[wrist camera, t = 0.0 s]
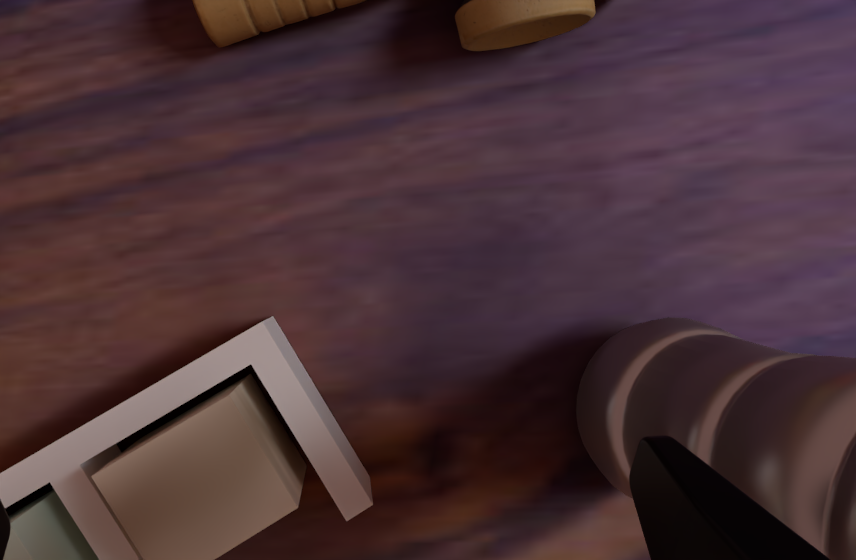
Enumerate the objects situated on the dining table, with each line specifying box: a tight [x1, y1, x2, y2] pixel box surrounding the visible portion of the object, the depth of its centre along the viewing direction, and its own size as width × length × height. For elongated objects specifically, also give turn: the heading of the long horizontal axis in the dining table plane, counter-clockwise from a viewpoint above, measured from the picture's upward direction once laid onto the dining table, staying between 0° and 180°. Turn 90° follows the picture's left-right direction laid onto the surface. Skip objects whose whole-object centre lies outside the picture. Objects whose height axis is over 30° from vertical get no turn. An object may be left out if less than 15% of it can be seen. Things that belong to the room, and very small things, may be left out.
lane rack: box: [0, 316, 373, 560], centre depth 21 cm, size 7×15×3 cm, turn 120°
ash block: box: [91, 374, 307, 560], centre depth 21 cm, size 4×4×4 cm
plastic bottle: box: [576, 317, 856, 560], centre depth 15 cm, size 6×7×20 cm
